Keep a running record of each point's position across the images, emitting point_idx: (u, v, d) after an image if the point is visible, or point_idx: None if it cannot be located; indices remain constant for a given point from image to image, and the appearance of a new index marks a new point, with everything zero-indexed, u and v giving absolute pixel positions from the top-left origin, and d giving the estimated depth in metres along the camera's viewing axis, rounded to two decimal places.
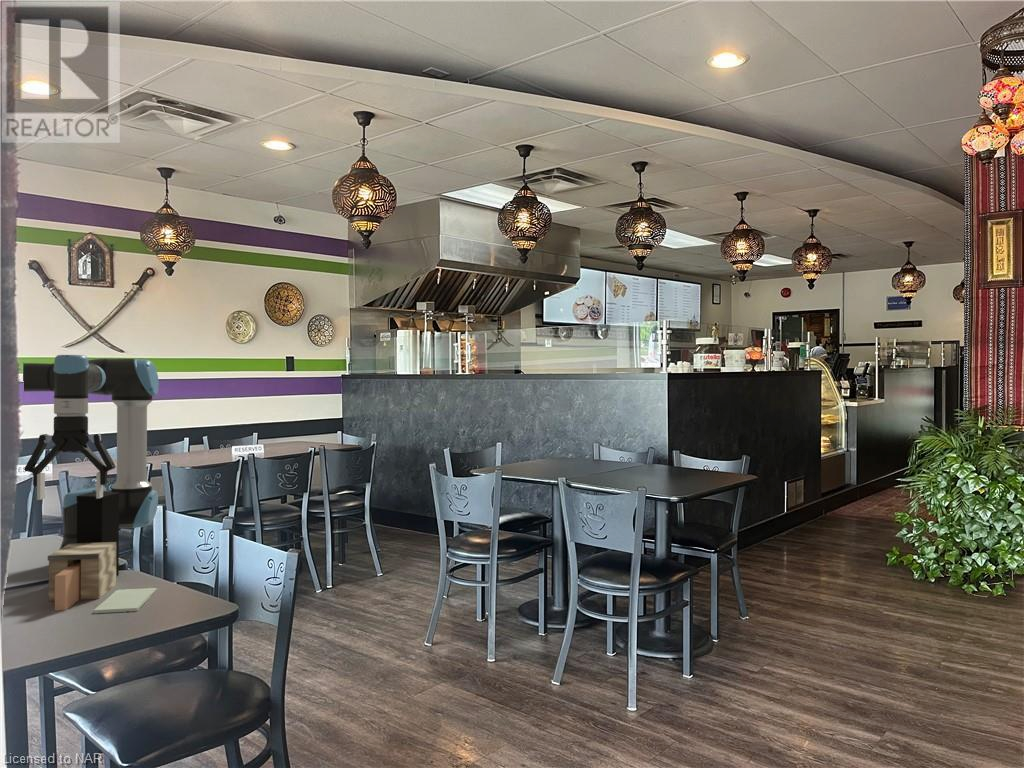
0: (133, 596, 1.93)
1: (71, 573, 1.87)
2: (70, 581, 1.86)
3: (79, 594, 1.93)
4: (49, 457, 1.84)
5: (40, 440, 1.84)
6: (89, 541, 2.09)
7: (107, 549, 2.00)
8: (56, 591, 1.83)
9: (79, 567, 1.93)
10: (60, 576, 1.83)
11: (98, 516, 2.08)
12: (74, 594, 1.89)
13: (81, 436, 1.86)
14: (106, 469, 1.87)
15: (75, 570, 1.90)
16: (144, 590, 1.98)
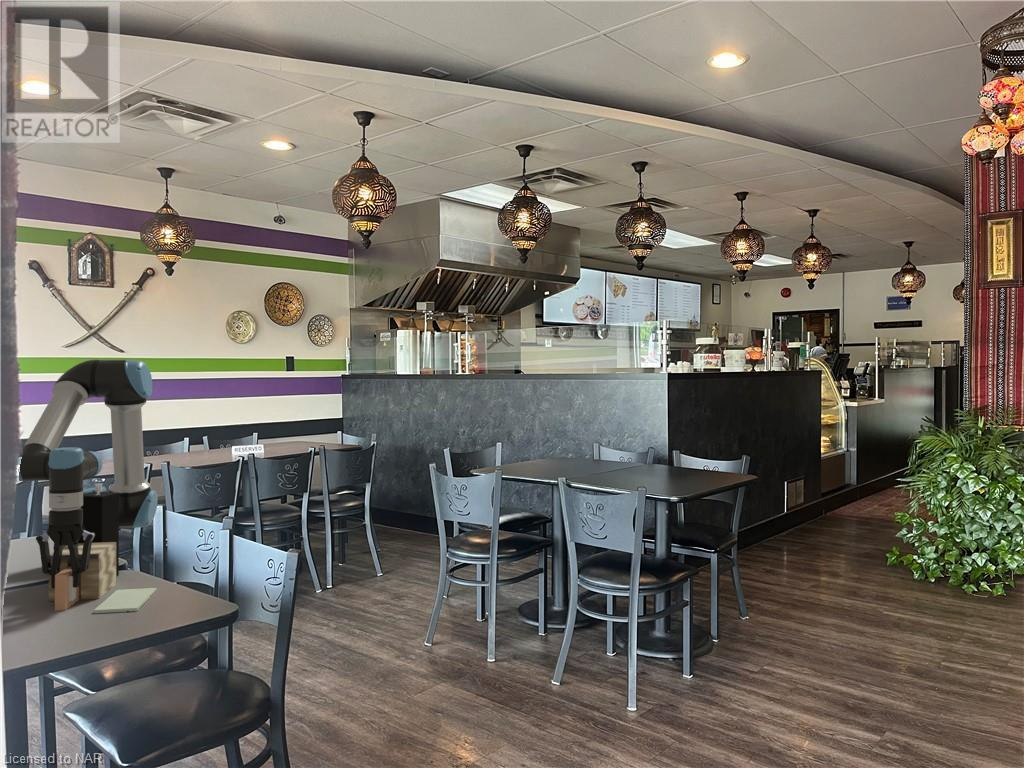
0: (133, 596, 1.93)
1: (71, 573, 1.87)
2: None
3: (79, 594, 1.93)
4: (56, 555, 1.85)
5: (39, 541, 1.84)
6: None
7: (107, 549, 2.00)
8: (56, 591, 1.83)
9: None
10: (60, 576, 1.83)
11: (98, 516, 2.08)
12: None
13: (77, 529, 1.86)
14: (79, 571, 1.87)
15: None
16: (144, 590, 1.98)
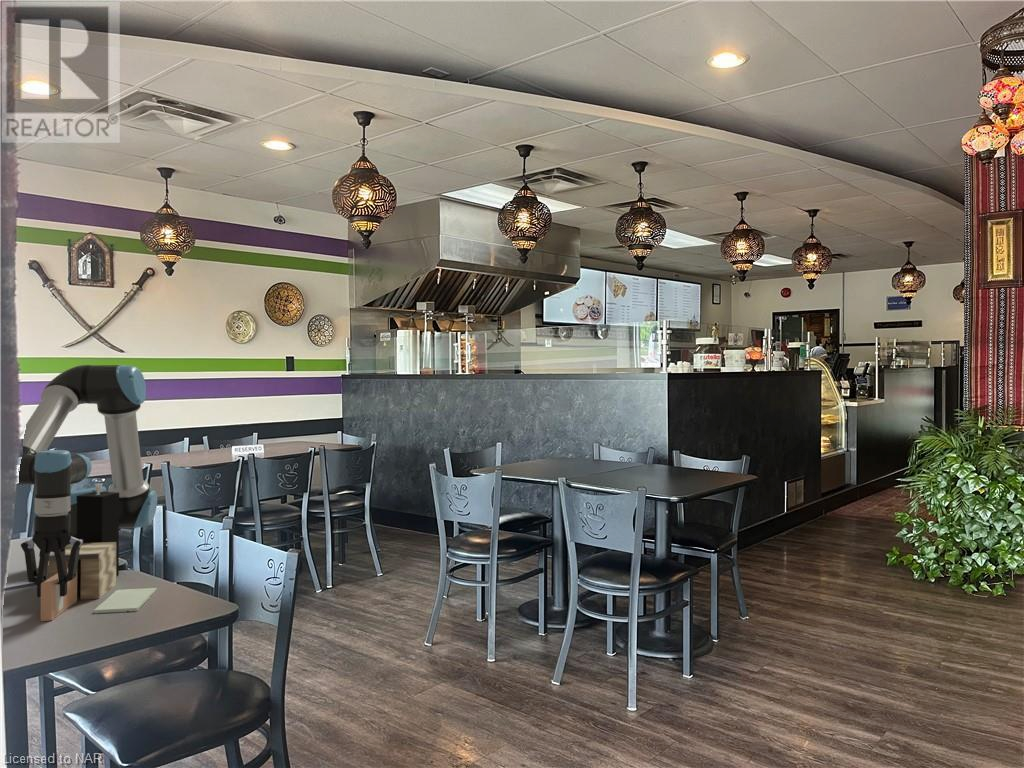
0: (133, 596, 1.93)
1: (58, 581, 1.79)
2: None
3: (67, 603, 1.84)
4: (42, 562, 1.77)
5: (24, 548, 1.76)
6: (89, 541, 2.09)
7: (107, 549, 2.00)
8: (42, 600, 1.75)
9: None
10: (46, 584, 1.75)
11: (98, 516, 2.08)
12: None
13: (64, 535, 1.78)
14: (66, 580, 1.78)
15: None
16: (144, 590, 1.98)
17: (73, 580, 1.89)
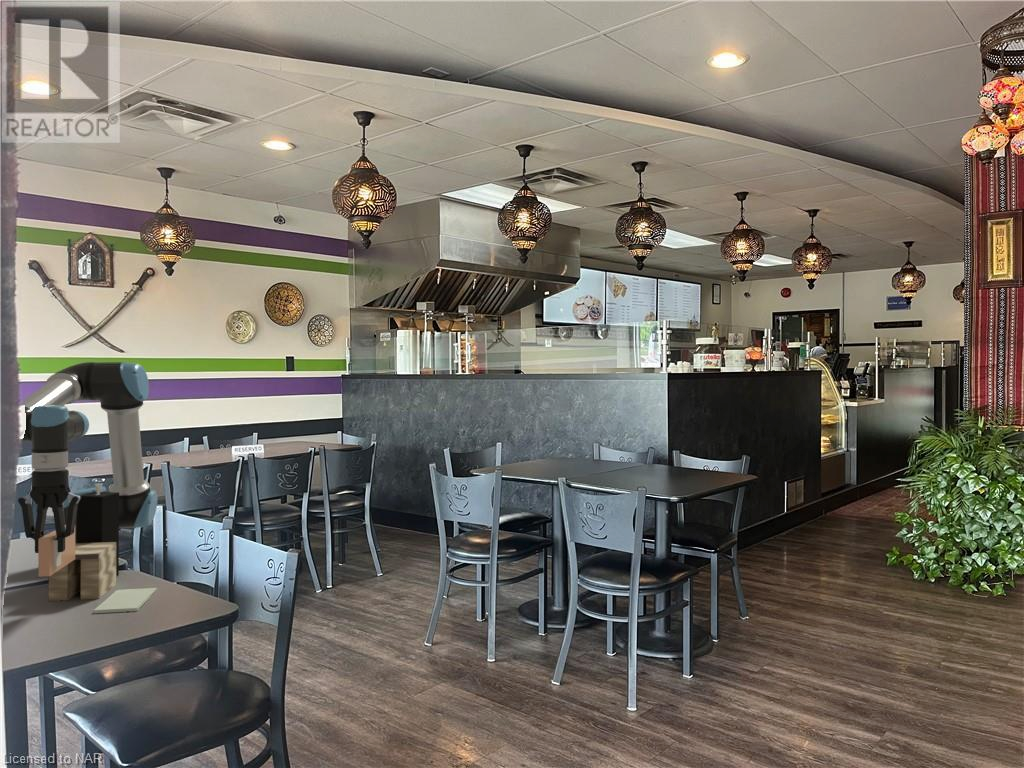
0: (133, 596, 1.93)
1: (56, 537, 1.78)
2: None
3: (65, 560, 1.83)
4: (40, 518, 1.75)
5: (21, 504, 1.75)
6: (89, 541, 2.09)
7: (107, 549, 2.00)
8: (40, 555, 1.73)
9: None
10: (44, 540, 1.74)
11: (98, 516, 2.08)
12: None
13: (62, 491, 1.76)
14: (64, 535, 1.77)
15: None
16: (144, 590, 1.98)
17: (71, 538, 1.87)
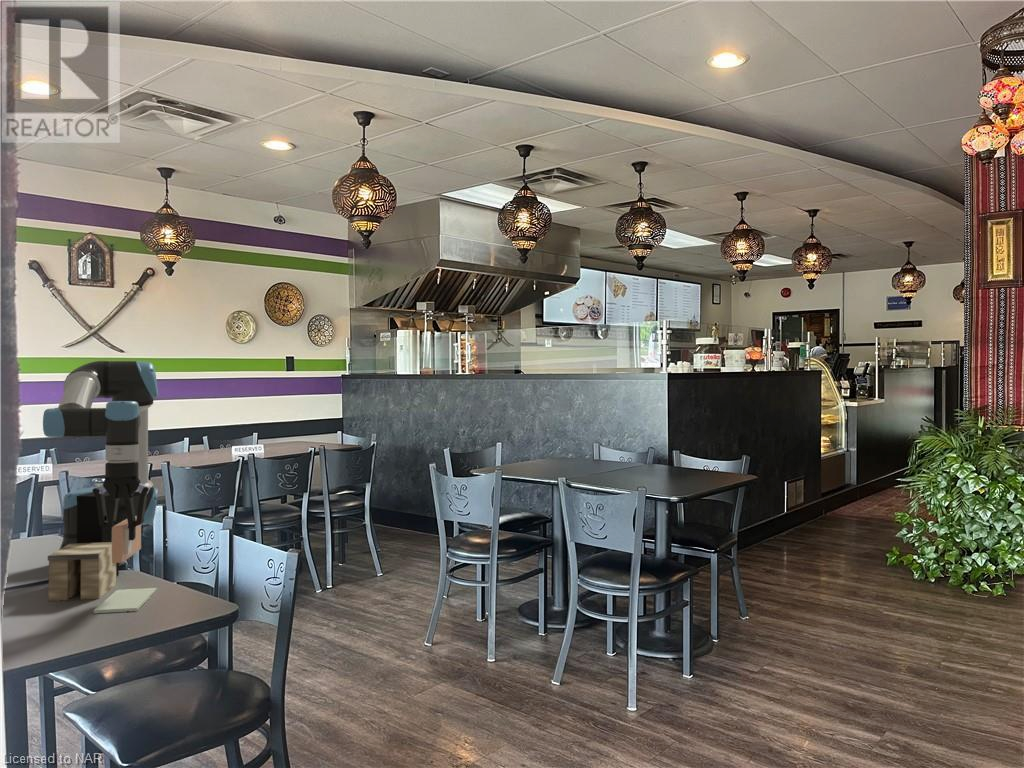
0: (133, 596, 1.93)
1: (127, 526, 1.87)
2: None
3: (133, 548, 1.92)
4: (113, 507, 1.85)
5: (95, 494, 1.84)
6: (89, 541, 2.09)
7: (107, 549, 2.00)
8: (113, 543, 1.83)
9: None
10: (117, 528, 1.83)
11: None
12: None
13: (133, 482, 1.86)
14: (135, 524, 1.86)
15: None
16: (144, 590, 1.98)
17: (138, 528, 1.96)
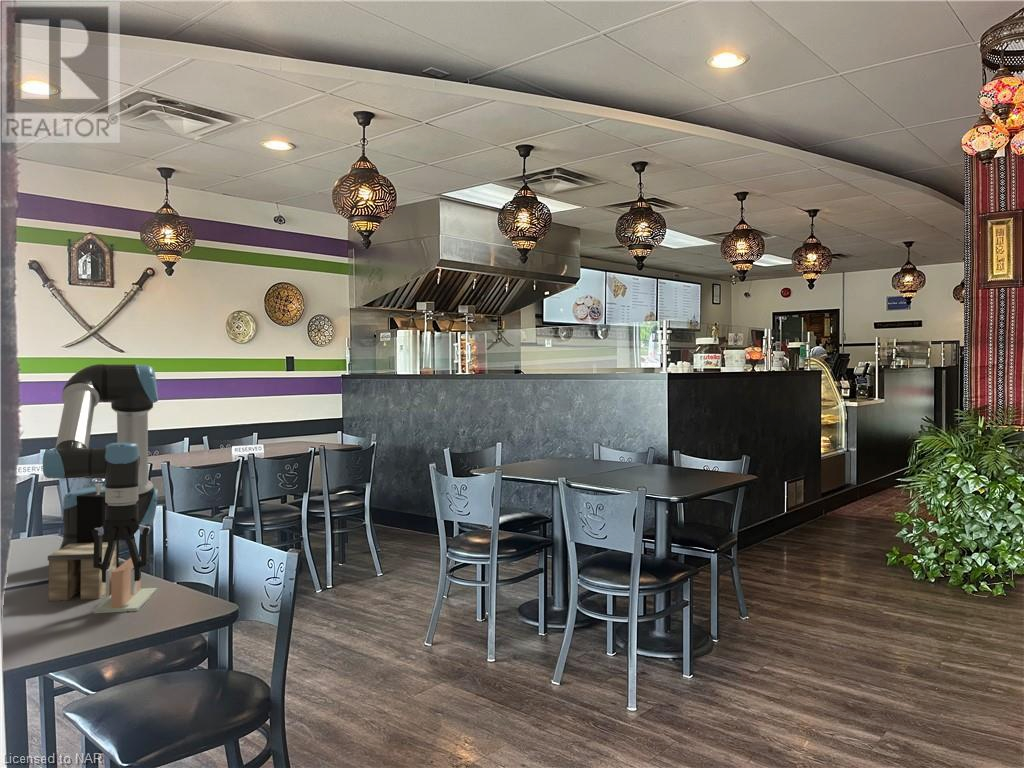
0: None
1: (126, 570, 1.87)
2: (125, 578, 1.86)
3: None
4: (110, 549, 1.85)
5: (94, 535, 1.84)
6: (89, 541, 2.09)
7: None
8: (112, 588, 1.83)
9: None
10: (116, 573, 1.83)
11: (98, 516, 2.08)
12: (128, 591, 1.89)
13: (133, 524, 1.86)
14: (140, 565, 1.87)
15: (129, 567, 1.90)
16: (144, 590, 1.98)
17: None
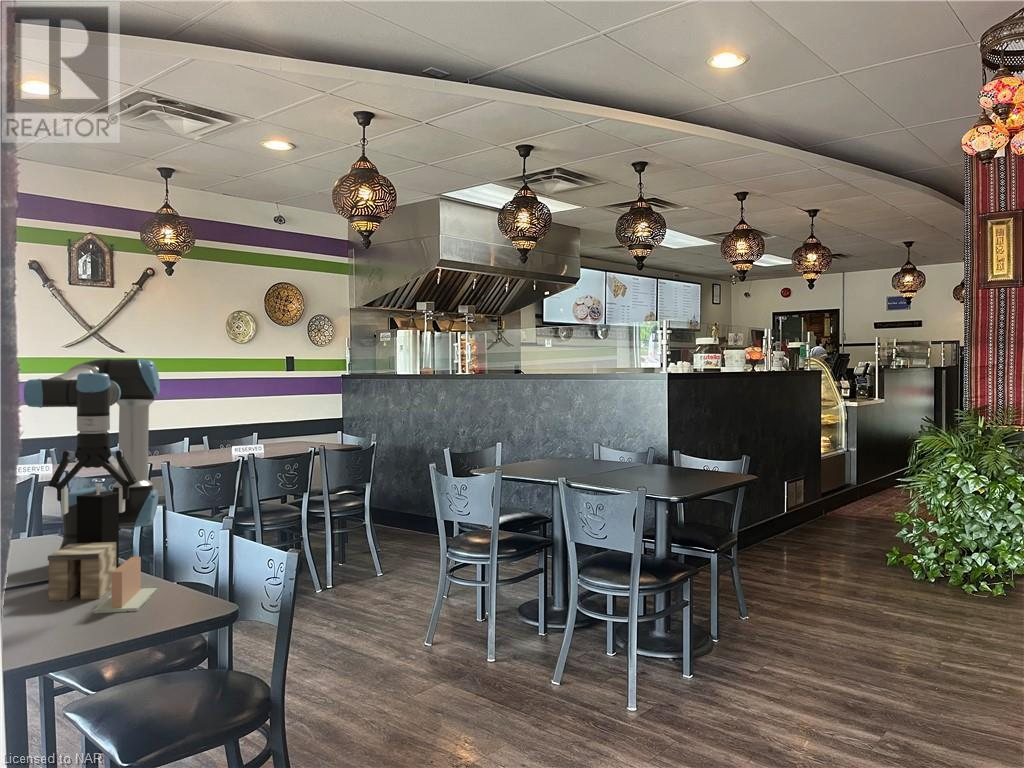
0: None
1: (127, 570, 1.87)
2: (125, 578, 1.86)
3: (133, 591, 1.92)
4: (73, 473, 1.89)
5: (64, 456, 1.88)
6: (89, 541, 2.09)
7: (107, 549, 2.00)
8: (113, 588, 1.83)
9: (133, 564, 1.92)
10: (116, 573, 1.83)
11: (98, 516, 2.08)
12: (128, 591, 1.89)
13: (104, 452, 1.91)
14: (128, 484, 1.93)
15: (130, 567, 1.90)
16: (144, 590, 1.98)
17: (138, 570, 1.97)
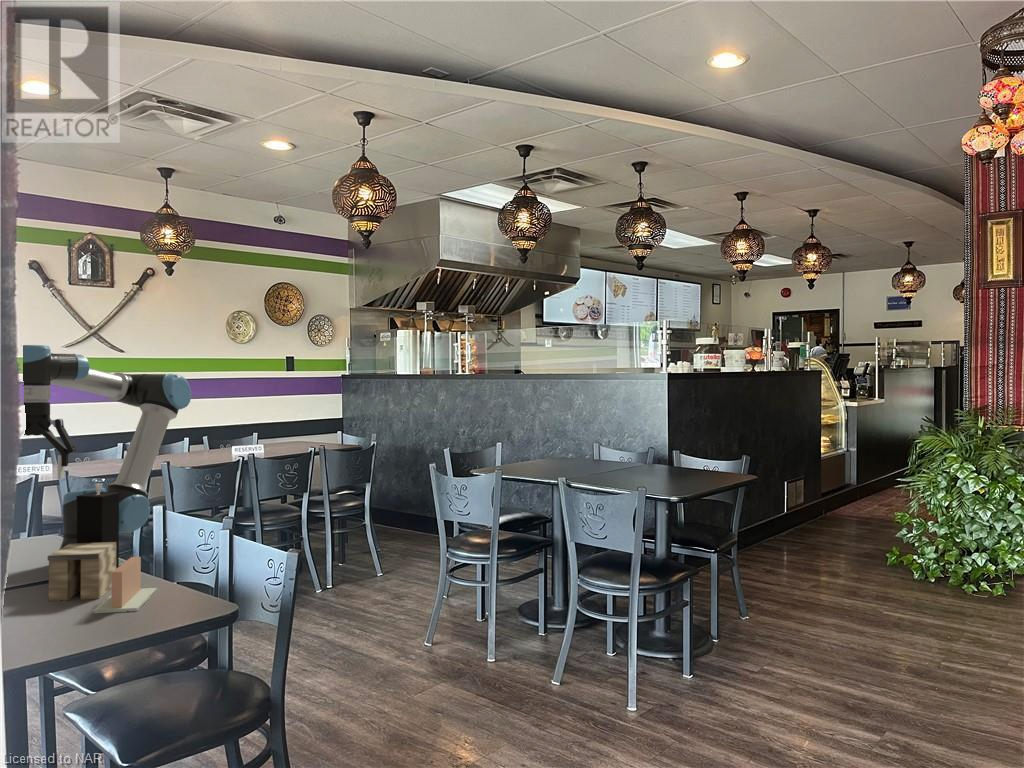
0: None
1: (127, 570, 1.87)
2: (125, 578, 1.86)
3: (133, 591, 1.92)
4: None
5: None
6: (89, 541, 2.09)
7: (107, 549, 2.00)
8: (113, 588, 1.83)
9: (133, 564, 1.92)
10: (116, 573, 1.83)
11: (98, 516, 2.08)
12: (128, 591, 1.89)
13: (43, 421, 1.99)
14: (67, 452, 2.01)
15: (130, 567, 1.90)
16: (144, 590, 1.98)
17: (138, 570, 1.97)
